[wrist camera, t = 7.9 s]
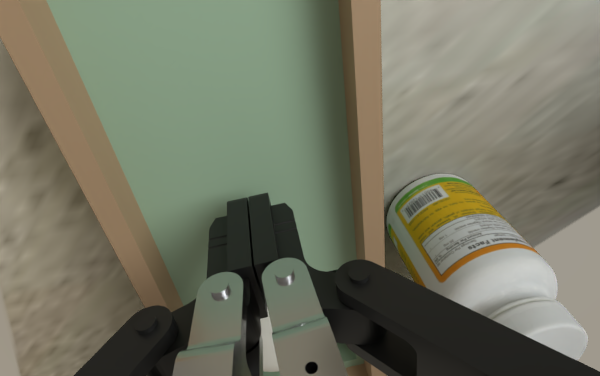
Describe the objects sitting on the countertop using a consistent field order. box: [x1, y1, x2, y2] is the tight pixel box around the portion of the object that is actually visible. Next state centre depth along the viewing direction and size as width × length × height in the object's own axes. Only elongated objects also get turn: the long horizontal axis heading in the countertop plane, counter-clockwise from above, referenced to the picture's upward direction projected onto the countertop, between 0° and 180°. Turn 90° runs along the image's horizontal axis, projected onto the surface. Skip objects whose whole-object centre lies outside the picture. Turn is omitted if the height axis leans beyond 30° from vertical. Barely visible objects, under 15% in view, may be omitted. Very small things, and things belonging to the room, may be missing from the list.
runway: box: [0, 0, 387, 376], centre depth 18 cm, size 10×22×6 cm, turn 8°
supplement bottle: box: [386, 174, 588, 360], centre depth 19 cm, size 5×5×10 cm
